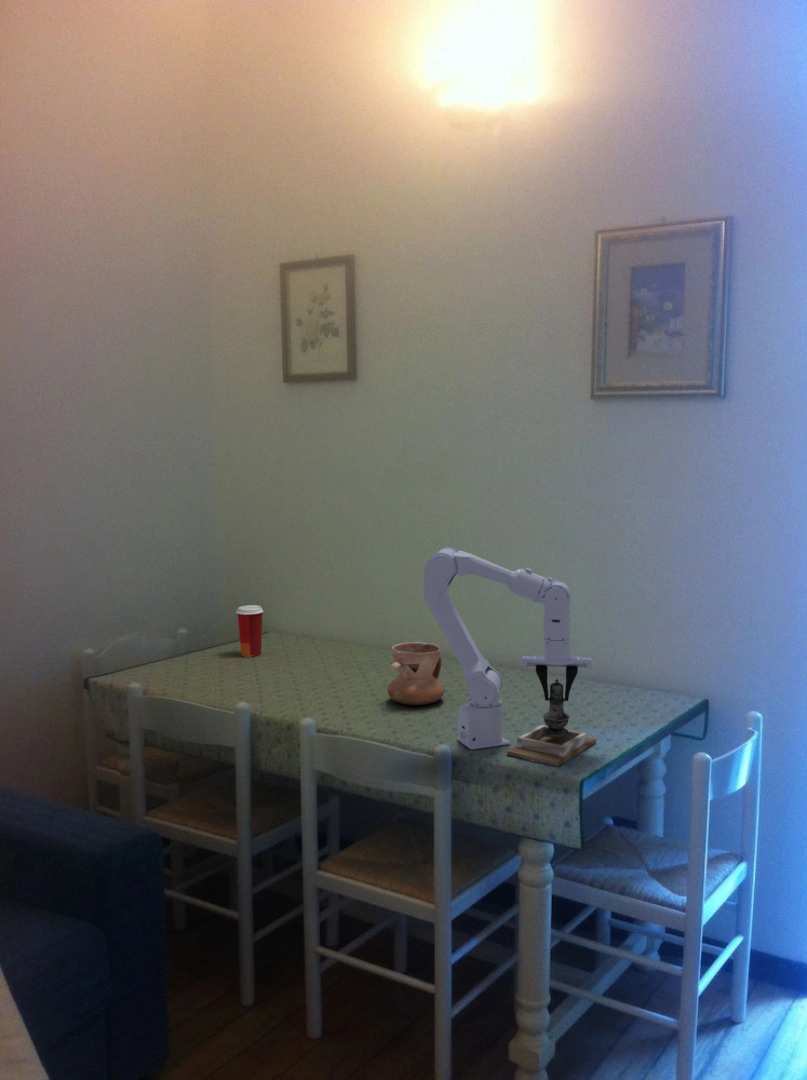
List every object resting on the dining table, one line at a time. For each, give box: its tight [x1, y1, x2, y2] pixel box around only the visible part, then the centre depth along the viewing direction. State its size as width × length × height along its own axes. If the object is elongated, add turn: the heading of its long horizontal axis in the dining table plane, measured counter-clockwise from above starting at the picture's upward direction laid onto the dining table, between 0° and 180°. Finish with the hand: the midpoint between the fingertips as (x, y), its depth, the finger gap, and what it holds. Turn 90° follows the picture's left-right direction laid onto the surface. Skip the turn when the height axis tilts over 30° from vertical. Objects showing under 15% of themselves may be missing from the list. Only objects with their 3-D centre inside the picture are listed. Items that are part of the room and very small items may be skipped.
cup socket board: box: [506, 724, 597, 767], centre depth 208 cm, size 18×12×3 cm, turn 144°
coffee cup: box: [235, 604, 264, 658], centre depth 297 cm, size 8×8×15 cm
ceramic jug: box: [386, 641, 445, 706], centre depth 245 cm, size 18×14×14 cm
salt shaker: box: [542, 678, 571, 736], centre depth 209 cm, size 6×6×12 cm
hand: (556, 699), depth 209 cm, fingers closed on salt shaker, 4 cm apart
